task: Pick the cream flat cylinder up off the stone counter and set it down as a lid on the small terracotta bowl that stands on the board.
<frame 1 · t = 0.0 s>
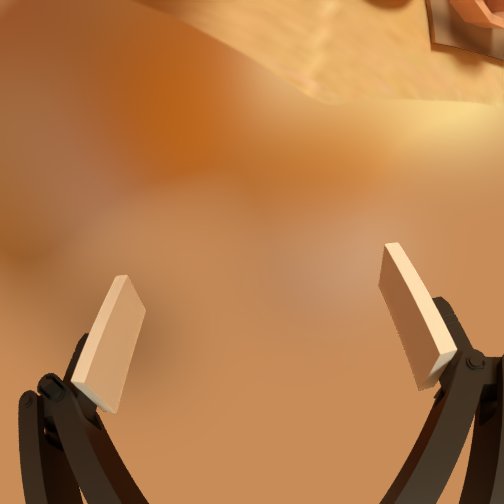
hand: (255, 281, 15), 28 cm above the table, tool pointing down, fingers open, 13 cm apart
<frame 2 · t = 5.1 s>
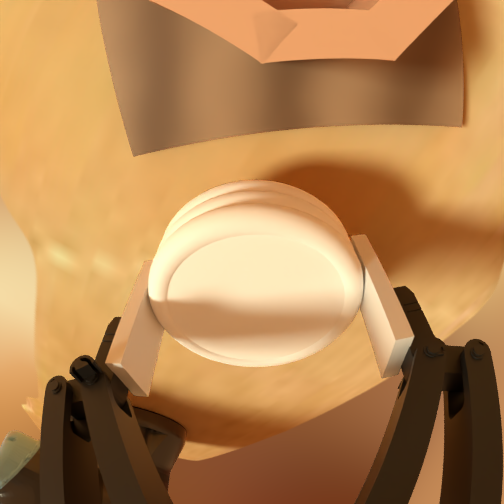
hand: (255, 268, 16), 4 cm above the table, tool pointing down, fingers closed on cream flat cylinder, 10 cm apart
cream flat cylinder: (255, 261, 16), point 3 cm above the table, touching gripper
when the fingers open (8 cm above the table, at t = 8.9 s): cream flat cylinder stays where it is, resting on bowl.
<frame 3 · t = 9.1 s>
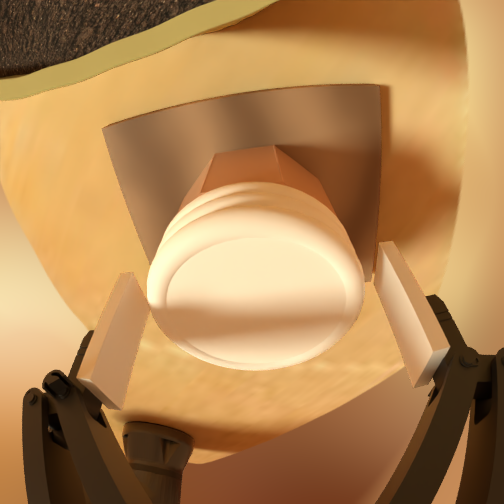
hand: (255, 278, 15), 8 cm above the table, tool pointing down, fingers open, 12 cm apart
board: (254, 203, 22), on the table
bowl: (254, 211, 21), resting on board
cream flat cylinder: (255, 264, 16), point 7 cm above the table, touching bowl
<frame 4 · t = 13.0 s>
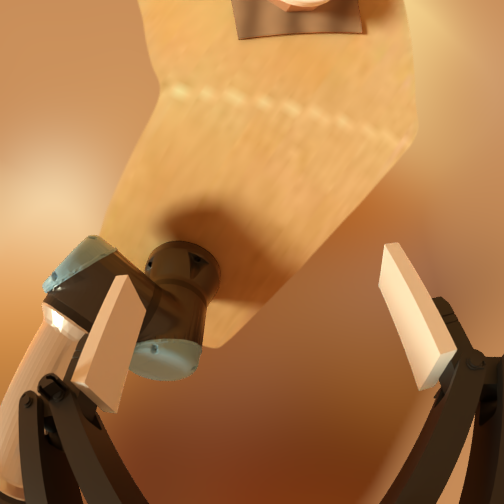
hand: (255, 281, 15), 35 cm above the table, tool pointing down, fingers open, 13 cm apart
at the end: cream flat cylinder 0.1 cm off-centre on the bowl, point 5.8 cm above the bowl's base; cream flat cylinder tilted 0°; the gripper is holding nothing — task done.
